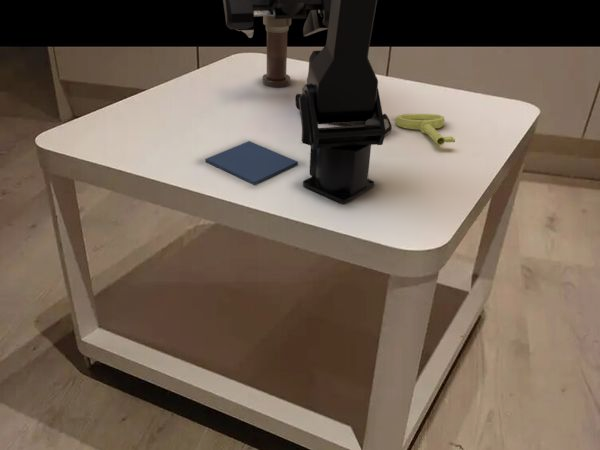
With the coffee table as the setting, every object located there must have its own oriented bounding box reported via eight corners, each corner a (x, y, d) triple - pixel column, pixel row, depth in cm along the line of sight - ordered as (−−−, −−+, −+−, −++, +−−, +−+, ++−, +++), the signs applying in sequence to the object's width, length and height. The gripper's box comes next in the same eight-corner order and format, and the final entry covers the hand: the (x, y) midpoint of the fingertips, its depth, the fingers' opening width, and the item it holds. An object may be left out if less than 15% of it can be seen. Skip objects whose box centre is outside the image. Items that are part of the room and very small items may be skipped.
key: (437, 154, 85) (440, 139, 84) (389, 121, 94) (391, 108, 93) (479, 146, 87) (482, 132, 86) (428, 115, 97) (430, 102, 96)
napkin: (298, 164, 81) (298, 161, 80) (254, 184, 75) (254, 182, 75) (249, 143, 85) (249, 140, 85) (205, 161, 80) (205, 158, 80)
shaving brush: (295, 83, 107) (298, -2, 100) (276, 89, 104) (278, 3, 97) (275, 76, 110) (276, -7, 102) (256, 82, 107) (256, -3, 99)
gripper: (348, -73, 91) (324, -10, 106) (222, -74, 87) (215, -9, 102) (360, -5, 89) (334, 49, 104) (231, -3, 85) (223, 53, 100)
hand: (277, 34), depth 102 cm, fingers open, 9 cm apart
